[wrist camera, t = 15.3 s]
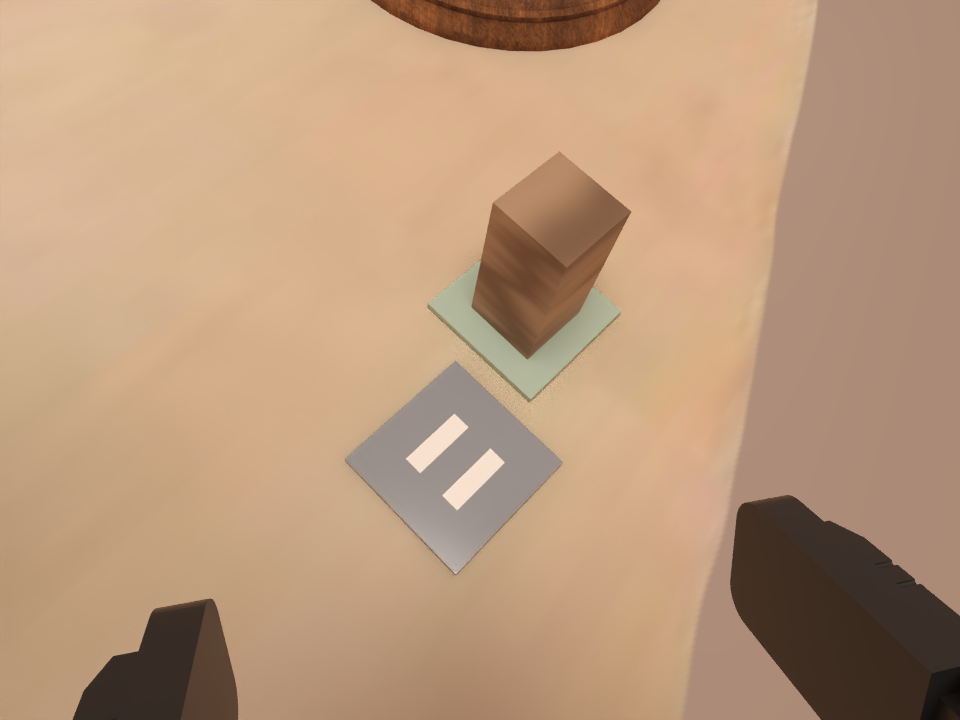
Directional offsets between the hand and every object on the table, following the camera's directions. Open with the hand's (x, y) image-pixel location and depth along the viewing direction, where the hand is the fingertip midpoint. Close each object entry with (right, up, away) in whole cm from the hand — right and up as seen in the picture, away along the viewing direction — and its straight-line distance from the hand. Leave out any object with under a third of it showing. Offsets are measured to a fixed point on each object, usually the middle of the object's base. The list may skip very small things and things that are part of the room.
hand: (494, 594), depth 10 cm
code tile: (-2, -2, +30) cm, 30 cm away
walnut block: (+3, +7, +34) cm, 35 cm away
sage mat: (+3, +7, +35) cm, 36 cm away
